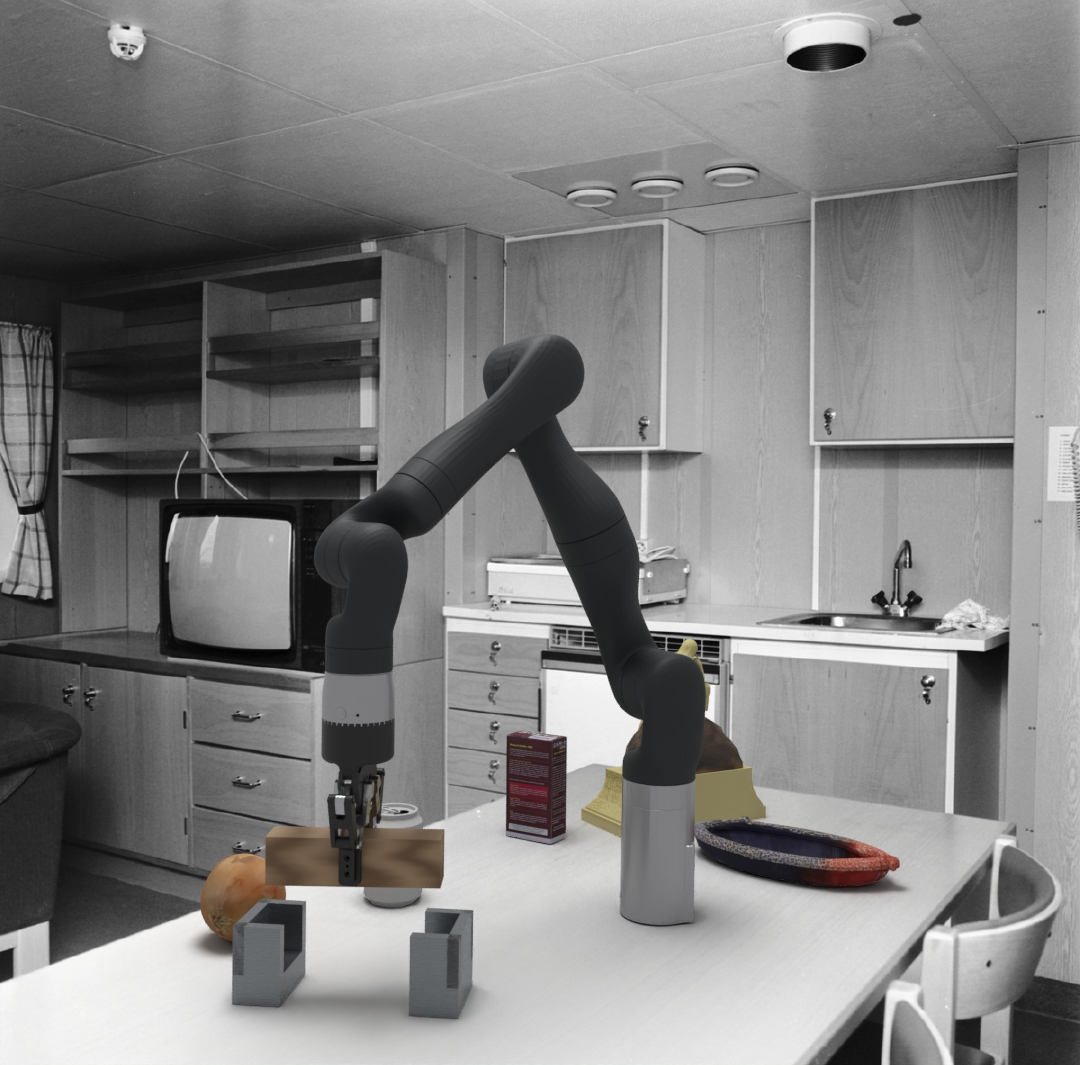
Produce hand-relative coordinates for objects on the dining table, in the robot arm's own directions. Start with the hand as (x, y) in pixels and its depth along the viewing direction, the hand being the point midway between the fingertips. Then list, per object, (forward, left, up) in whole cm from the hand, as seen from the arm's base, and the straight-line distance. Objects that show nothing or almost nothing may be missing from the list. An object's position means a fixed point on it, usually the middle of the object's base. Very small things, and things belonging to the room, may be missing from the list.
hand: (356, 876), depth 121 cm
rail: (0, 0, 0) cm, 0 cm away
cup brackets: (0, 0, -12) cm, 12 cm away
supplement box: (-12, -60, -13) cm, 62 cm away
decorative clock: (-33, -74, -13) cm, 82 cm away
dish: (-50, -50, -13) cm, 72 cm away
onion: (+17, -13, -13) cm, 25 cm away
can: (+3, -29, -13) cm, 32 cm away
